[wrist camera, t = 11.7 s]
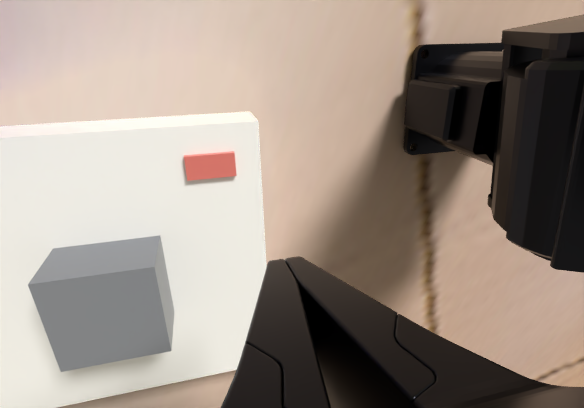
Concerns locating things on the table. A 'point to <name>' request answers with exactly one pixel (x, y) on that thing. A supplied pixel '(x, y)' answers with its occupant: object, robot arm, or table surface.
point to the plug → (105, 302)
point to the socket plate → (129, 225)
